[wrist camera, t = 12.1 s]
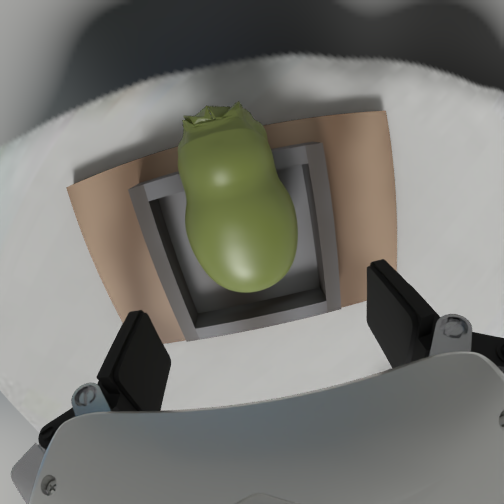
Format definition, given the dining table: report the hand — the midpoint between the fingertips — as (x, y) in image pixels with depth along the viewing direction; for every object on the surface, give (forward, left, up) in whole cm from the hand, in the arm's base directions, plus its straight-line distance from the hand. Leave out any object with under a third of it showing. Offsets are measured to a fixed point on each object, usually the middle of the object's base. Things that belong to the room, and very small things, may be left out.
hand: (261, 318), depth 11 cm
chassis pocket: (0, 0, -9) cm, 9 cm away
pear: (0, +1, -5) cm, 6 cm away
